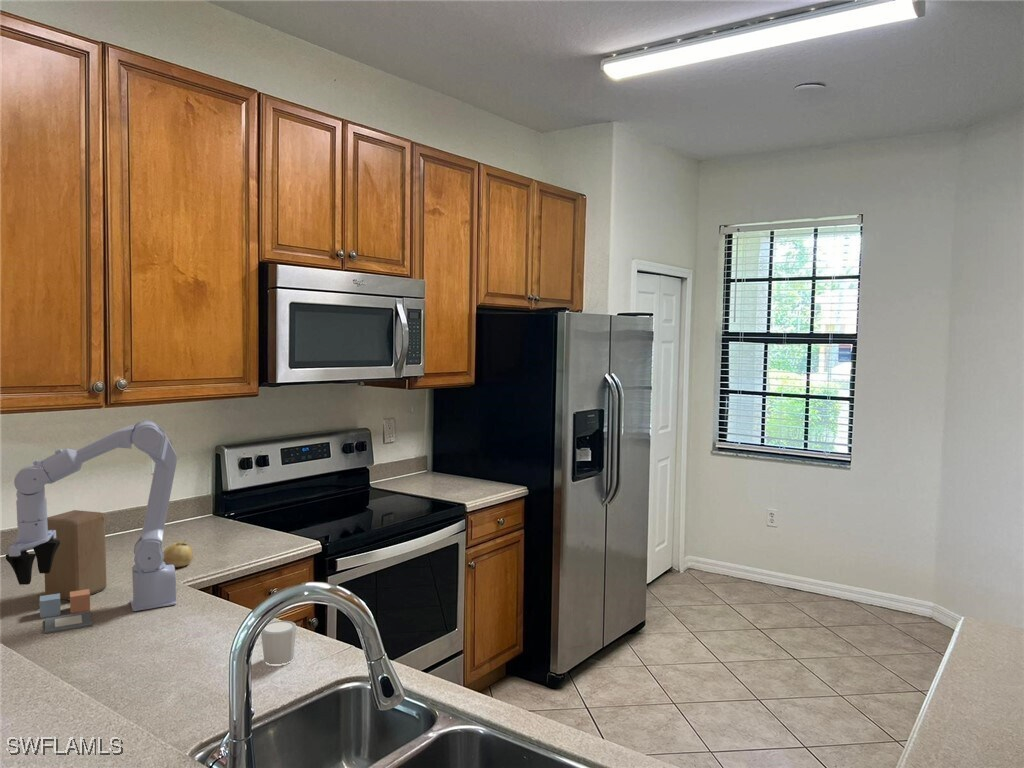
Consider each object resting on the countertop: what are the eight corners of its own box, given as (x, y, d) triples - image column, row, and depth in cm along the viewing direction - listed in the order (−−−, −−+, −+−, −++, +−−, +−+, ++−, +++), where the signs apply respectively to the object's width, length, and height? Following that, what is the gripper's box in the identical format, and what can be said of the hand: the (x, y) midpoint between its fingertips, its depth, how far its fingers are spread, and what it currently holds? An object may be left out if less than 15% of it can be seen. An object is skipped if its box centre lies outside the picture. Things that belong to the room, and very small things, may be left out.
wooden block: (108, 589, 192) (106, 511, 191) (76, 602, 182) (73, 521, 181) (76, 585, 195) (74, 508, 193) (43, 598, 185) (40, 518, 184)
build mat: (90, 612, 176) (90, 610, 176) (92, 625, 168) (92, 623, 168) (45, 620, 171) (45, 618, 171) (44, 633, 163) (44, 631, 163)
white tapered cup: (255, 660, 151) (254, 626, 151) (286, 650, 156) (286, 617, 156) (271, 671, 147) (270, 636, 146) (303, 660, 151) (302, 626, 151)
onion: (167, 572, 206) (166, 546, 206) (159, 564, 212) (158, 540, 212) (197, 566, 211) (196, 541, 211) (188, 559, 217) (188, 535, 217)
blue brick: (60, 609, 178) (59, 593, 177) (60, 615, 174) (60, 598, 174) (40, 612, 176) (39, 596, 175) (40, 618, 172) (39, 601, 172)
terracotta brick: (89, 605, 181) (89, 589, 181) (90, 610, 177) (89, 594, 177) (70, 608, 179) (69, 591, 178) (70, 613, 175) (70, 597, 175)
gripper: (33, 511, 176) (36, 568, 177) (-7, 527, 162) (-4, 589, 163) (64, 511, 177) (66, 568, 178) (26, 527, 162) (29, 589, 163)
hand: (34, 578), depth 170 cm, fingers open, 7 cm apart
